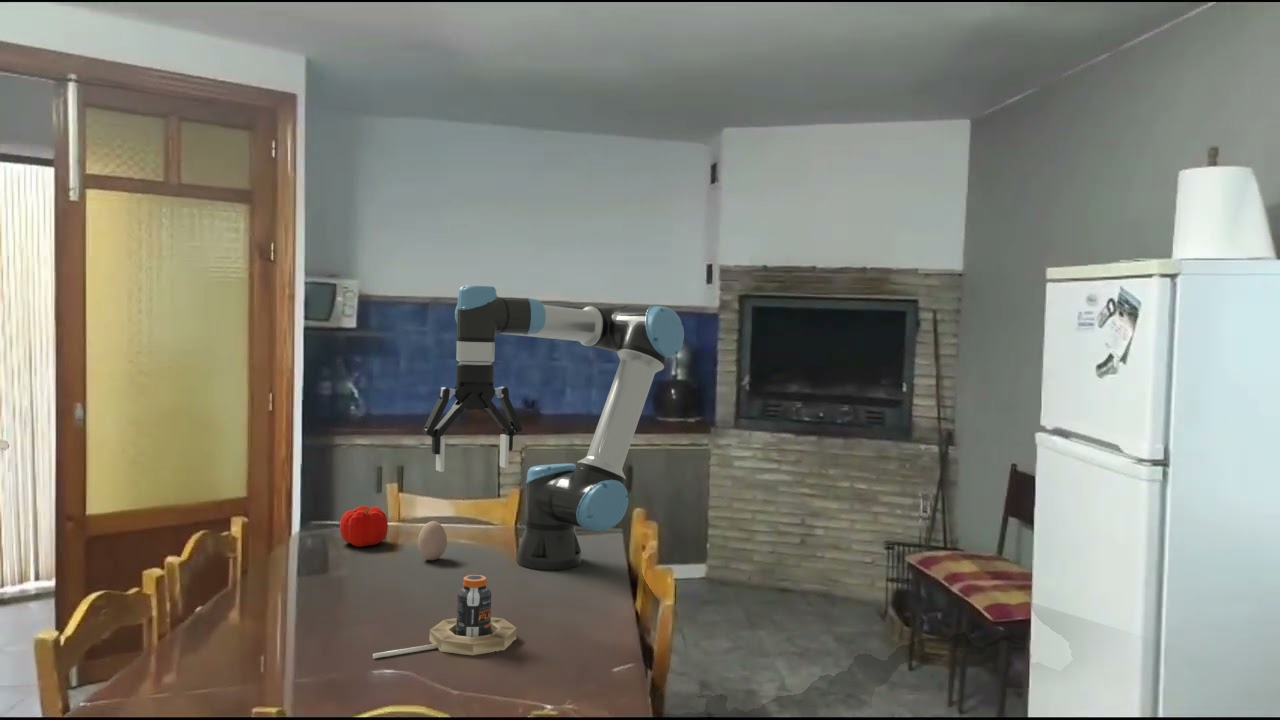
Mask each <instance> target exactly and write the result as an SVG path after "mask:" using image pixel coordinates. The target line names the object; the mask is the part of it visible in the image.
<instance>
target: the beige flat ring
mask: <svg viewBox="0 0 1280 720" xmlns="http://www.w3.org/2000/svg"><path fill="white" fill-rule="evenodd" d="M456 623H457V617H454V618H448V619H443V620H441V621H440V622H439V623H437V624H436V625H435V626H433V627H432V628H430V629H429V642H430V643H431V644H438V648H437V649H438V650H439V651H440V652H441V653H450V654H459V655H467V656H478V655H482V654H489V653H494V652H495V651H496V652H500V650H501V651H505V650H507V648H508V647H510V645H512V644H513V643H512V642H513V641H514V640H515V641H516V640H517V632H518V631H517V629H518V628H517V627H516V626H514V625H513V624H512V623H510V622H508V621H507V620H506V619H505V618H502V617H501V618H500V617H492V616H491V622H490V635H484V636H478V637H467V636H458V635H456ZM515 641H514V642H515Z"/></svg>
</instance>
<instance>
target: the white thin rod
mask: <svg viewBox="0 0 1280 720" xmlns="http://www.w3.org/2000/svg"><path fill="white" fill-rule="evenodd" d="M435 649H438V644H432V643H431V644H425V645H419V646H413V647H406V648H400V649H392V650H389V651H388V650H387V651H383V652H382V651H381V652H376V653H372V658H373V659H374V660H375V659H379V658H380V659H381V658H387V657H392V656H399V655H403V654H410V653H416V652H422V651H430V650H435Z"/></svg>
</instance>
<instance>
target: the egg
mask: <svg viewBox="0 0 1280 720" xmlns="http://www.w3.org/2000/svg"><path fill="white" fill-rule="evenodd" d="M447 546H448V537H447V533H446V531H445V529H444V527H443V526H442V524H441V523H439V522H438V521H436V520H432V521H429V522H427V523H426V524H424V525H423V527H422V528H421V530H420V533H419V535H418V538H417V547H418V551H419V553H420V554H421V556H422V557H423V558H424V559H426V560H428V561H436V560H438V559H439V558H441V557H442V556H443V554H445V551H446V549H447Z"/></svg>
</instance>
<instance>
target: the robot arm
mask: <svg viewBox="0 0 1280 720" xmlns="http://www.w3.org/2000/svg"><path fill="white" fill-rule="evenodd" d="M454 319H455V322H456V354H455V356H456V357H455V358H456V359H455V360H456V361H457V362H459V363H456V364H457V365H455V386H454V388H448V387H445V386H441V387H440V388H439V394H438V399H437V400H436V403H434V404H435V405H434V406H433V408H432V411H431V413H430V415H429V416H428V418H427V420H426V423H425V425H424V426H423V429H422V433H423V434H424V435H427V436H430V437H431V453H432V454H433V455H435V456H436V457H435V471H437V472H440V473H443V472H445V457H446V456H445V455H446V454H445V452H446V438H444V437H442V436H444V434H445V432H446V431H447V430H448V429H449V428H450V427H451V425H452V424H453V423H454V422H455V421H456V419H457V418H458V417H459V416H460V414H461V413H463V412H464V411H465V410H467V411H474V410H478V411H479V410H480V411H483V410H485V411H487V413H488V414H489V415H490V417H491V418H492V419H493V421H495V423H496V424H497V426H498V427H499V428H500V429H501V430H502V431H503V434H500V436H499V442H500V444H499V467H501V468H504V469H508V468H509V455H510V453H509V452H512V451H513V449H514V448H513V446H514V436H515V435H517V433H520V432H522V431H523V426H522V425H521V422H520V420H519V417H518V415H517V413H516V411H515V409H514V406H513V403H512V402H511V401H512V400H511V399H510V393H509V392H510V391H509V388H508V387H506V386H502V385H501V386H499V387H494V384H495V383H494V382H495V366H494V364H492V363H493V362H494V361H495V359H496V357H495V355H496V354H495V353H496V352H495V349H496V347H495V346H496V344H495V343H496V335H497V334H499V335H501V334H502V335H509V336H510V335H511V336H520V337H521V336H522V337H533V338H543V339H551V340H563V341H574V342H575V341H576V342H579V343H580V344H581V345H582V346H585V347H592V348H593V347H594V348H599V349H603V350H607V351H611V352H615V353H616V354H617V357H618V358H619V361H620V362H619V364H618V367H617V369H616V373H615V375H614V377H613V381H612V384H611V387H610V390H609V392H608V394H607V398H606V401H605V403H604V406H603V409H602V412H601V415H600V417H599V421H598V423H597V426H596V429H595V431H594V435H593V436H592V440H591V442H590V446H589V448H588V451H587V455H586V456H585V457H584V458H582V459H580V460H578V461H577V463H576V464H575V463H552V464H540V465H534V466H530V468H528V470H527V472H526V473H527V474H526V482H525V485H526V486H525V528H524V532H523V535H522V538H521V540H520V543H519V546H518V549H517V552H516V555H517V556H516V562H517V564H519V566H523V567H526V568H530V569H534V570H535V569H536V570H551V571H552V570H553V571H554V570H555V571H556V570H566V569H570V568H571V569H572V568H574V567H577V566H579V565H580V564H582V555H583V554H582V550H581V546H580V543H579V539H578V535H577V533H576V526H577V527H580V528H582V529H585V530H587V531H597V532H605V531H607V530H608V531H609V530H610V529H611V528H614V527H616V526H617V524H619V523H620V521H622V519H623V518H624V516H625V514H626V513H627V510H628V505H629V497H628V494H629V493H628V490H627V488H626V486H625V482H626V479H627V478H626V475H625V474H624V471H623V468H624V464H625V462H626V459H627V456H628V452H629V450H630V447H631V444H632V441H633V438H634V435H635V432H636V430H637V426H638V423H639V421H640V418H641V415H642V413H643V409H644V407H645V403H646V401H647V398H648V396H649V391H650V389H651V386H652V384H653V380H654V377H655V374H657V373H658V372H660V371H662V370H664V368H665V365H666V362H667V360H668V358H669V359H670V358H671V357H674V356H676V355H678V354H679V352H681V349H682V347H683V344H684V339H685V331H684V325H682V320H681V318H680V316H679V315H678V314H677V312H676V311H674V310H673V309H671V308H670V307H666V306H659V305H655V304H654V305H615V306H614V305H613V306H612V305H611V306H600V307H599V306H592V305H591V306H585V307H584V308H582V309H579V308H573V307H562V306H554V305H547V304H543V302H541V301H540V300H539V299H536V298H529V297H511V296H509V297H508V296H507V297H504V296H502V297H501V296H498V295H497V289H496V287H495V286H489V285H471V284H470V285H462V286H461V287H459V289H458V294H457V303H456V307H455V309H454ZM495 395H496V398H498V400H499V402H500V404H501V407H502V409H503V411H504V414H505V416H506V418H507V420H508V422H509V423H508V422H507V420H506V418H505V417H504V416H503V415H502V413H501V412H500V411H499V410H498V408H497V407H496V405H495V404H494V402H493V401H492V399H493V398H494V396H495ZM453 396H454V397H455V399H456V400H455V402H454V403H453V405H452V406H451V408H450V409H449V411H448V412H447V413H446V414H445V416H444V417H443V418H442V419H441V417H442V415H443V413H444V412H445V410H446V407H447V404H448V403H449V400H451V398H452V397H453ZM440 419H441V420H440Z"/></svg>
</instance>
